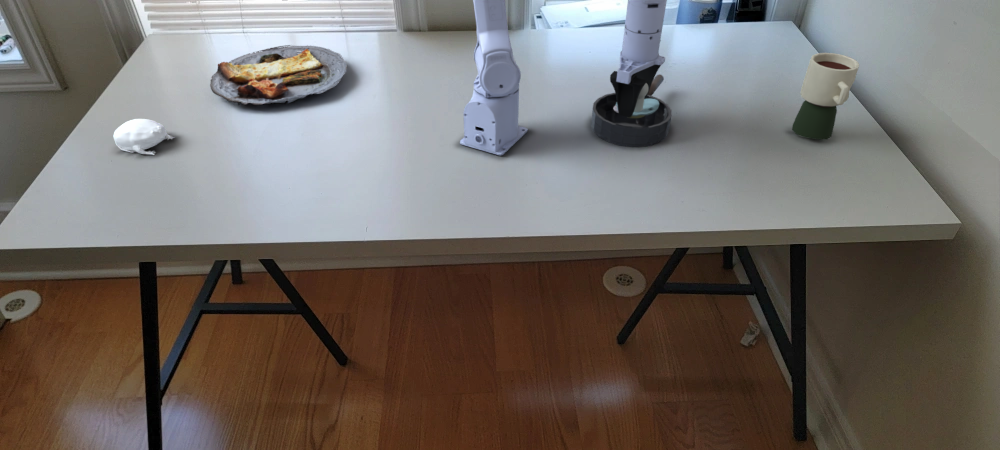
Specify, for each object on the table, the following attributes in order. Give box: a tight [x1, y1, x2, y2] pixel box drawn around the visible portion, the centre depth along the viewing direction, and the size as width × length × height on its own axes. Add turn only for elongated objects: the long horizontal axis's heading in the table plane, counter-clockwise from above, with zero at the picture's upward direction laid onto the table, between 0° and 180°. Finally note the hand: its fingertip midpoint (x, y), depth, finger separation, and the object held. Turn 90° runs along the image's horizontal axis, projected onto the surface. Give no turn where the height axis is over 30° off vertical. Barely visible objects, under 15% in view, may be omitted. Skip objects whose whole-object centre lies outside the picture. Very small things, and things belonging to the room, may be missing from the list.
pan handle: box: [646, 74, 665, 99], centre depth 117 cm, size 10×2×2 cm, turn 151°
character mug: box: [791, 52, 860, 140], centre depth 105 cm, size 11×7×13 cm, turn 3°
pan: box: [590, 92, 673, 148], centre depth 110 cm, size 13×13×4 cm
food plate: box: [209, 44, 348, 106], centre depth 124 cm, size 25×23×4 cm
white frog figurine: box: [113, 118, 176, 156], centre depth 105 cm, size 8×7×4 cm
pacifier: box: [613, 83, 659, 118], centre depth 108 cm, size 7×6×6 cm
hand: (632, 106), depth 109 cm, fingers closed on pacifier, 6 cm apart
